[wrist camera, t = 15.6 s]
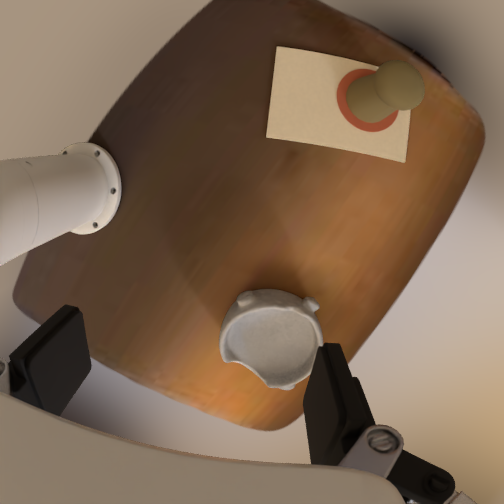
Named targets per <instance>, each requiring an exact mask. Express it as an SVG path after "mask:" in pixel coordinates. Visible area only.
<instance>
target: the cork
mask: <svg viewBox="0 0 504 504" xmlns="http://www.w3.org/2000/svg"><path fill="white" fill-rule="evenodd" d="M424 93H425V88H424V82H423V79H422V76H421V75H420V73H419V72H418V71H417V70H416V69H415V68H414V67H413V66H412V65H410V64H409V63H407V62H405V61H401V60H392V61H387V62H385V63H383V64H382V65H381V66H380V67H379V68H378V69H377V71H376V73H374V74H370V75H367V76H364V77H361V78H358V79H356V80H354V81H353V82H352V83H351V84H350V85H349V86H348V89H347V92H346V101H347V104H348V107H349V109H350V110H351V112H352V113H353V115H355V116H356V117H357V118H358V119H360V120H362V121H364V122H368V123H375V122H380V121H381V120H383V119H384V118H386V117H387V116H389V115H390V114H392V113H393V112H394V111H396V110H401V111H405V110H410V109H413V108H415V107H416V106H418V105H419V104H420V102H421V101H422V99H423V97H424Z"/></svg>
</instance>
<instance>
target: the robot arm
mask: <svg viewBox="0 0 504 504" xmlns="http://www.w3.org/2000/svg"><path fill="white" fill-rule="evenodd" d="M99 152H100V155H99ZM115 189H116V192H115ZM121 189H122V188H121V178H120V173H119V170H118V167H117V165H116V163H115V161H114V160H113V158H112V157H111V155H110V154H109V153H108V152H107V151H106V150H105V149H103V148H102V147H100V146H99V145H96V144H93V143H85V142H84V143H75V144H72V145H70V146H68V147H66V148H64V149H63V150H62V151H61V152H60V153H59V154H58V155H52V156H38V157H28V158H17V159H7V160H0V266H1V265H3V264H4V263H6V262H8V261H10V260H11V259H13V258H15V257H17V256H19V255H21V254H23V253H25V252H27V251H29V250H31V249H33V248H35V247H37V246H39V245H41V244H43V243H45V242H47V241H49V240H51V239H53V238H56V237H58V236H60V235H62V234H64V233H66V232H68V231H71V232H73V233H77V234H89V233H93V232H96V231H98V230H100V229H101V228H103V227H104V226H106V225H107V224H108V223H109V222H110V221H111V219H112V218H113V216H114V215H115V213H116V211H117V208H118V206H119V202H120V198H121ZM97 224H98V225H97ZM9 357H10V360H11V361H10V362H9V363H8V362H7V361H6V360H4V359H3V358H0V504H477V503H476V502H475V501H473V500H472V499H471V498H470V497H468V496H467V495H466V494H465V493H464V492H462V491H461V492H460V493H458V492H456V491H455V481H454V479H453V477H452V476H451V475H450V474H449V473H448V472H447V471H445V470H443V469H441V468H439V467H437V466H435V465H433V464H430V463H429V462H427V461H425V460H423V459H421V458H419V457H417V456H415V455H412V454H411V453H409V452H407V451H405V450H403V445H404V442H403V438H402V436H401V434H400V433H399V432H398V431H397V430H395V429H394V428H392V427H389V426H387V425H376V424H375V421H374V418H373V416H372V413H371V411H370V408H369V405H368V402H367V400H366V397H365V394H364V392H363V389H362V387H361V384H360V381H359V380H358V378H357V377H352V375H351V372H350V370H349V367H348V364H347V361H346V359H345V356H344V354H343V351H342V348H341V346H340V344H339V343H324V345H323V346H319V347H318V349H317V353H316V357H315V360H314V364H313V368H312V371H311V375H310V378H309V381H308V385H307V388H306V392H305V395H304V399H303V408H304V415H305V422H306V429H307V436H308V443H309V451H310V459H311V464H291V463H270V462H258V461H246V460H236V459H227V458H219V457H212V456H205V455H199V454H193V453H187V452H181V451H176V450H171V449H166V448H162V447H157V446H153V445H148V444H144V443H140V442H136V441H132V440H129V439H125V438H121V437H118V436H114V435H111V434H107V433H105V432H101V431H98V430H95V429H92V428H89V427H86V426H83V425H80V424H78V423H75V422H72V421H69V420H67V419H64V418H61V417H59V416H60V415H61V413H62V412H63V410H64V409H65V407H66V406H67V404H68V403H69V401H70V400H71V398H72V397H73V395H74V394H75V392H76V391H77V390H78V388H79V387H80V385H81V384H82V382H83V381H84V379H85V378H86V377H87V375H88V374H89V372H90V370H91V359H90V355H89V349H88V344H87V339H86V333H85V327H84V320H83V314H82V312H81V311H80V310H79V308H78V307H74V306H70V305H64V306H63V307H62V308H60V309H59V310H58V311H57V312H56V313H55V314H54V315H52V316H51V317H50V318H49V319H48V320H47V321H46V322H45V323H43V324H42V325H41V326H40V327H39V328H38V329H37V330H36V331H35V332H34V333H33V334H31V335H30V336H29V337H28V338H27V339H26V340H25V341H24V342H23V343H22V344H21V345H20V346H19V347H18V348H17V349H16V350H15V351H14V352H12V353H11V354H10V355H9Z"/></svg>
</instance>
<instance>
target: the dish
mask: <svg viewBox="0 0 504 504" xmlns="http://www.w3.org/2000/svg"><path fill="white" fill-rule="evenodd" d="M319 307H320V305H319V304H318V302H317V301H316V299H315V298H313V297H305V298H304V299H301V298H300V297H298V296H296V295H294V294H291V293H288V292H285V291H281V290H276V289H259V290H254V291H245V292H243V293H241V294H239V295H238V296H237V300H236V301H235V302H234V303H233V304H232V306H231V307H230V308H229V310H228V312H227V313H226V316H225V318H224V320H223V323H222V326H221V330H220V336H219V349H220V353H221V356H222V358H223V360H224V362H226V363H228V362H237V363H240V364H242V365H244V366H245V367H247V368H248V369H250V370H251V371H252V372H254V373H255V374H256V375H257V376H258V377H259V378H261V379H262V380H263V381H264V383H265V384H266V385H267V386H268V387H271V388H280V389H283V390H290V389H292V388H294V387H295V384H296V383H298V382H300V381H302V380H303V379H305V378H306V377H307V376H308V375H309V374H310V373H311V371H312V368H313V364H314V360H315V357H316V353H317V349H318V347H319V346H323V336H322V330H321V327H320V323H319V321H318V319H317V316H316V315H315V313H314V312H315V311H316V310H318V309H319Z"/></svg>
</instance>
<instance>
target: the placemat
mask: <svg viewBox="0 0 504 504" xmlns="http://www.w3.org/2000/svg"><path fill="white" fill-rule="evenodd" d="M378 68H379V67H377V66H374V65H370V64H366V63H362V62H359V61H354V60H350V59H346V58H342V57H337V56H332V55H327V54H322V53H317V52H312V51H306V50H300V49H293V48H286V47H278V46H277V50H276V59H275V67H274V75H273V84H272V92H271V100H270V109H269V117H268V126H267V134H266V137H267V138H275V139H283V140H290V141H297V142H304V143H310V144H316V145H322V146H328V147H333V148H339V149H344V150H349V151H354V152H359V153H364V154H369V155H373V156H378V157H382V158H387V159H391V160H395V161H399V162H403V163H405V159H406V151H407V142H408V133H409V122H410V110H411V109H410V110H405V111H401V110H396V111H394V112H393V113H392V114H390V115H389V116H387V117H386V118H384V119H383V120H381V121H380V122H375V123H368V122H364V121H362V120H360V119H358V118H357V117H356V116H355V115H353V113H352V112H351V110H350V109H349V107H348V104H347V101H346V92H347V89H348V86H349V85H350V84H351V83H352V82H353V81H354V80H356V79H358V78H361V77H364V76H367V75H370V74H374V73H376V71H377V69H378Z"/></svg>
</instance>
